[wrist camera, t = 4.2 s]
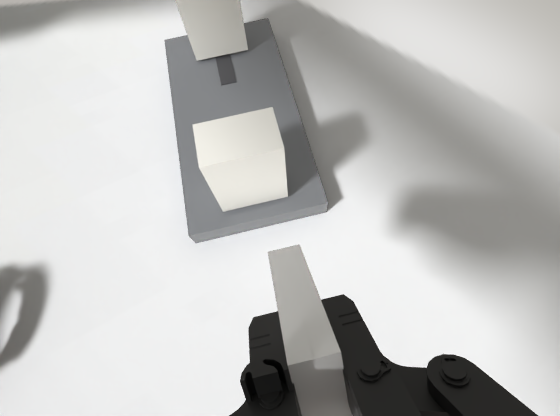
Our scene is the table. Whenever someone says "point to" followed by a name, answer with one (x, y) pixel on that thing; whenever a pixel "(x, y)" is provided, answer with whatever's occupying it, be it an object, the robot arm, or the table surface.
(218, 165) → the switch
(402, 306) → the table surface
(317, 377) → the robot arm
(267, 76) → the switch plate
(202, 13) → the switch
